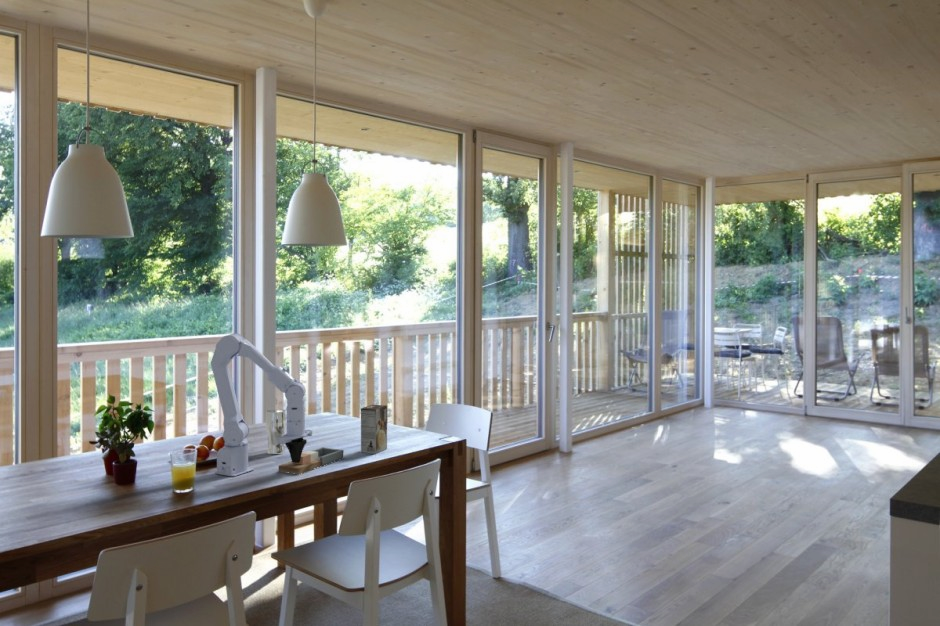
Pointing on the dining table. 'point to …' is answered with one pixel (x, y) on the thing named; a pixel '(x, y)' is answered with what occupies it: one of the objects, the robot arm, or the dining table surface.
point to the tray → (329, 455)
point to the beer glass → (275, 430)
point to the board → (299, 467)
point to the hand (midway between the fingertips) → (295, 462)
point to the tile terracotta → (304, 459)
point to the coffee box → (373, 429)
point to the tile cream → (312, 455)
